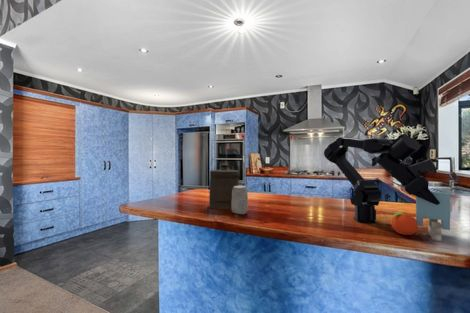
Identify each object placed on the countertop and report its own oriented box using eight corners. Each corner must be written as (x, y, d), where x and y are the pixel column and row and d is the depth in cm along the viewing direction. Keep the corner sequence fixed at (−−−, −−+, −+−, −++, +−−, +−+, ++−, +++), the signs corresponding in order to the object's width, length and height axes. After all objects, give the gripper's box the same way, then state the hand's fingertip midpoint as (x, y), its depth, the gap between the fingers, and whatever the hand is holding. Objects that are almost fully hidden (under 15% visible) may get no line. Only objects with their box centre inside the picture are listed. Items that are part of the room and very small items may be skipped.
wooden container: (244, 205, 117) (244, 162, 117) (227, 211, 104) (228, 163, 105) (220, 202, 125) (221, 162, 125) (203, 207, 112) (203, 162, 113)
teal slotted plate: (416, 225, 74) (416, 191, 74) (415, 223, 76) (416, 190, 76) (449, 230, 69) (450, 194, 69) (448, 228, 71) (448, 193, 71)
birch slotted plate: (432, 240, 69) (432, 223, 69) (428, 231, 77) (428, 216, 77) (441, 241, 68) (441, 224, 68) (436, 232, 76) (436, 217, 76)
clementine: (397, 238, 70) (397, 215, 70) (383, 231, 77) (383, 210, 77) (423, 238, 70) (423, 215, 70) (406, 231, 77) (406, 210, 77)
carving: (250, 214, 100) (250, 186, 100) (236, 216, 95) (236, 187, 96) (242, 211, 105) (242, 185, 105) (228, 213, 101) (228, 186, 101)
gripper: (419, 149, 67) (471, 190, 61) (414, 151, 82) (456, 183, 76) (387, 174, 72) (432, 215, 65) (388, 171, 87) (425, 204, 81)
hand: (438, 203), depth 72 cm, fingers closed on teal slotted plate, 2 cm apart
